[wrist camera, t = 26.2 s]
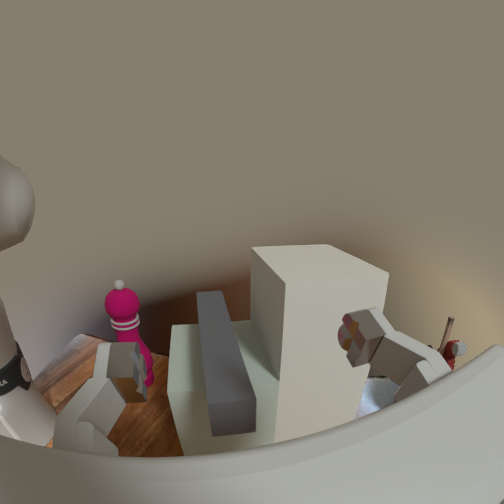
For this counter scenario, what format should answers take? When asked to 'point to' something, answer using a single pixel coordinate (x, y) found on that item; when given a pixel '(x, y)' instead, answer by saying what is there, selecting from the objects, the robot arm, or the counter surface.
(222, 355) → the gray rectangular bar
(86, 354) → the counter surface
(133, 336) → the pepper mill
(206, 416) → the step stand
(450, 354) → the cake
